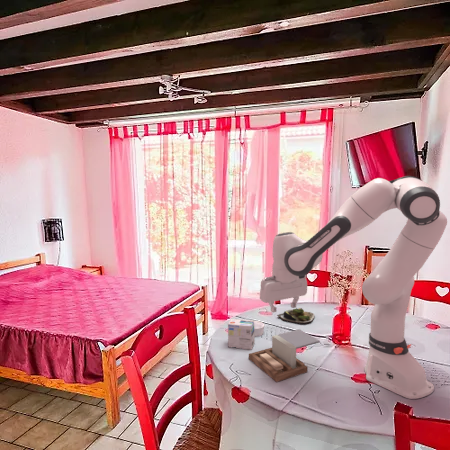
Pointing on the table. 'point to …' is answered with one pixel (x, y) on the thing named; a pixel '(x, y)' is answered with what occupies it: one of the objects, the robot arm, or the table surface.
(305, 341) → the grey rubber mat
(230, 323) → the light bulb box
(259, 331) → the ramekin
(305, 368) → the walnut rack
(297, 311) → the salad plate
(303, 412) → the table surface
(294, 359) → the upright cream panel
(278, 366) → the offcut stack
